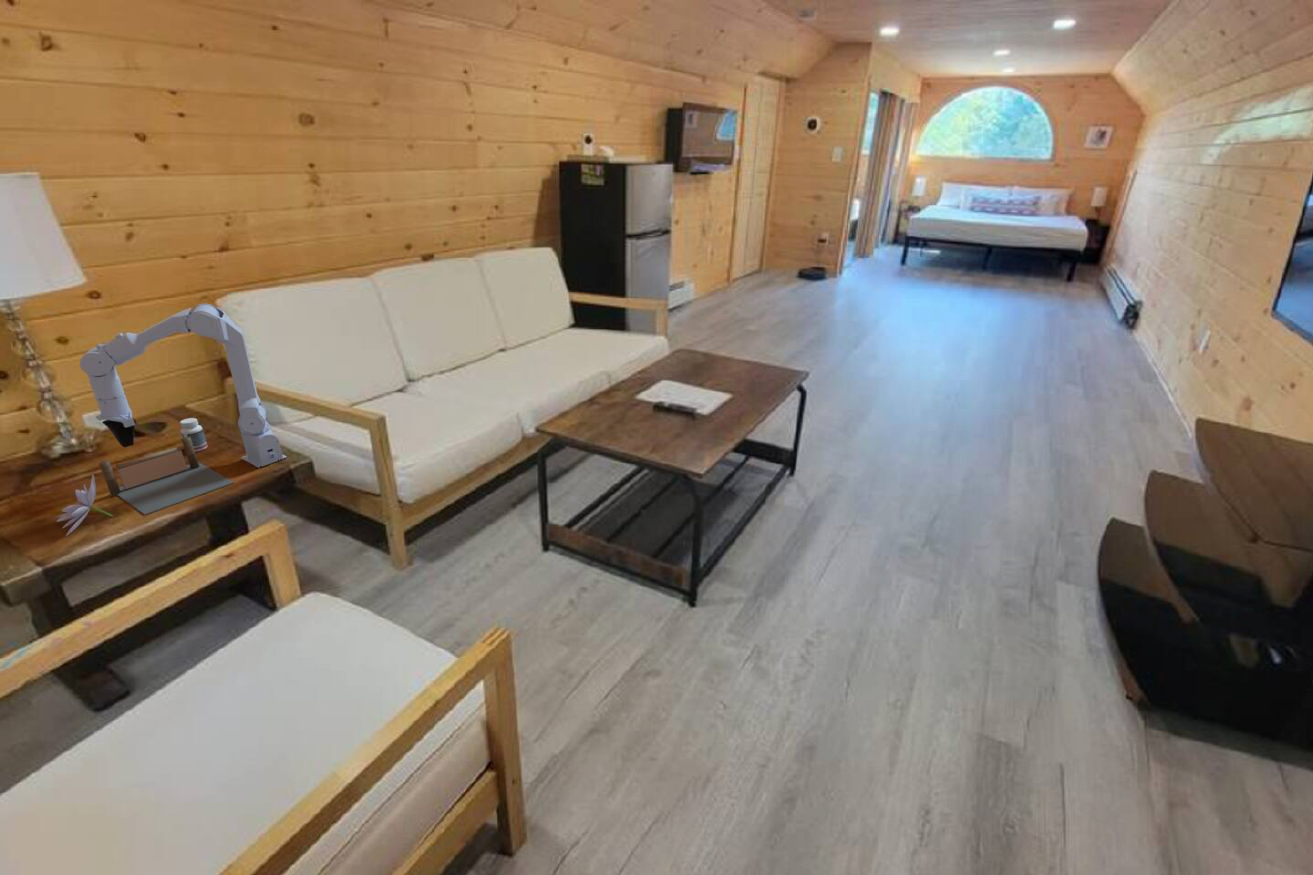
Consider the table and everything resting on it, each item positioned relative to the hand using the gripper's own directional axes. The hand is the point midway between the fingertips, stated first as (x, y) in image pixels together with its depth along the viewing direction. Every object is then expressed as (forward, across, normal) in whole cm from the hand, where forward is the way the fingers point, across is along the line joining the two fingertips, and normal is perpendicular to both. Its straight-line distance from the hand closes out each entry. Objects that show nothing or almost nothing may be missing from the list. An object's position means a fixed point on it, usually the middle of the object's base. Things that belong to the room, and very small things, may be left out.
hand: (127, 445), depth 164 cm
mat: (+9, +13, +3) cm, 16 cm away
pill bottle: (+10, -7, +17) cm, 21 cm away
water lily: (+10, +15, -16) cm, 24 cm away
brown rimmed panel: (+9, +6, +2) cm, 11 cm away
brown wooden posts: (+9, +6, +2) cm, 11 cm away
